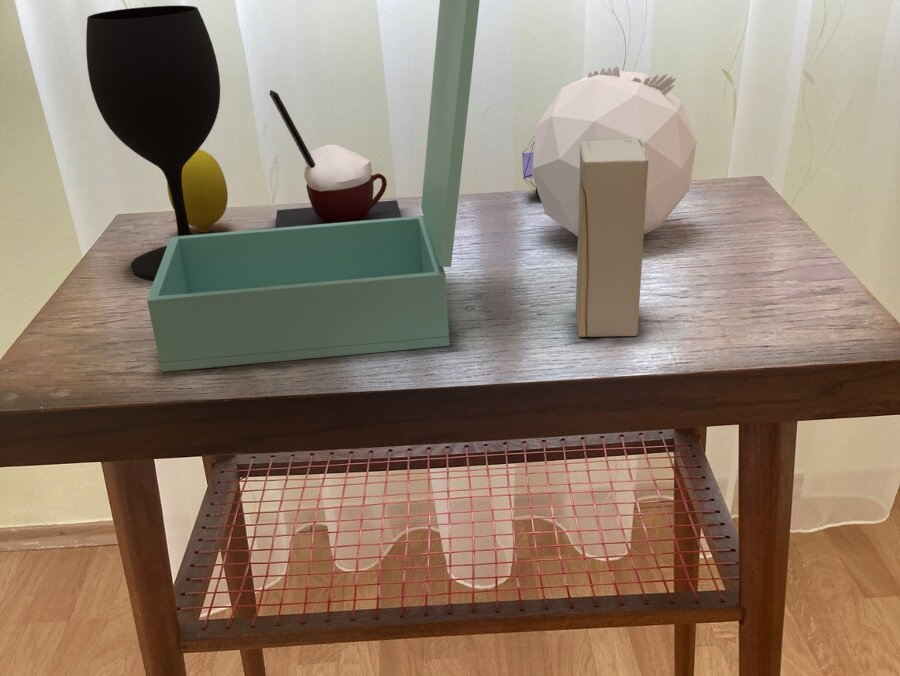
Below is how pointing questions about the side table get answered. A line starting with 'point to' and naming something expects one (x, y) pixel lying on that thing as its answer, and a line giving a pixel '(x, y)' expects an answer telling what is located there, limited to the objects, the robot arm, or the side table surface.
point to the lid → (448, 121)
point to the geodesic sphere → (613, 117)
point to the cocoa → (335, 178)
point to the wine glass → (155, 92)
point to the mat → (310, 218)
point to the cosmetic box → (610, 236)
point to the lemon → (203, 191)
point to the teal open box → (298, 294)
